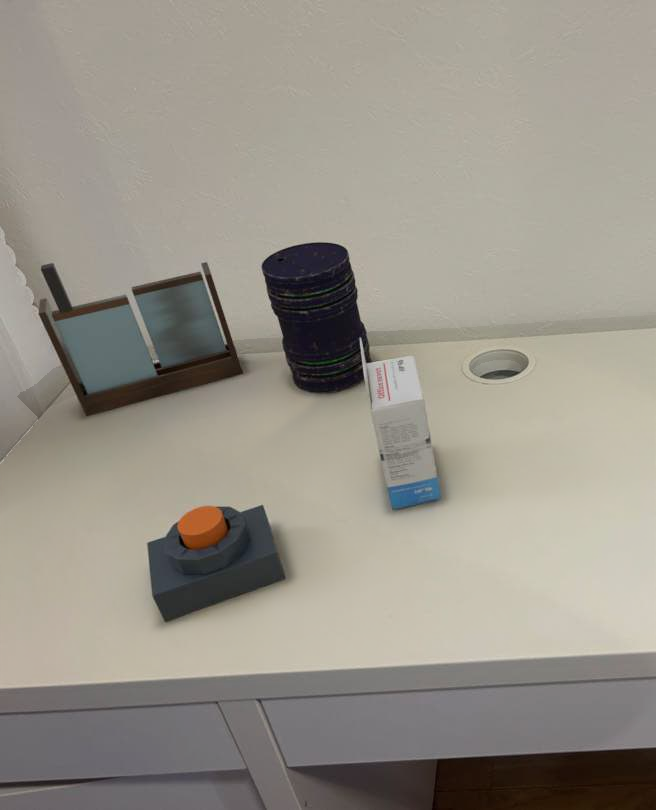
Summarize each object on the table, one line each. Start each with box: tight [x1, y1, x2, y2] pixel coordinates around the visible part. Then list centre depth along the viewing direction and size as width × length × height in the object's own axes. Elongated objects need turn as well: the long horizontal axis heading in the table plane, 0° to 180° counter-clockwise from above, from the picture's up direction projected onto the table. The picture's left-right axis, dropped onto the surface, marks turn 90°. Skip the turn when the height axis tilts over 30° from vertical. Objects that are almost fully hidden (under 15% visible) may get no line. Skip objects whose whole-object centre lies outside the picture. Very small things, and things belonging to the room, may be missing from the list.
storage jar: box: [260, 241, 373, 395], centre depth 94 cm, size 10×10×15 cm
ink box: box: [360, 337, 441, 510], centre depth 75 cm, size 8×5×15 cm, turn 14°
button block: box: [146, 504, 287, 623], centre depth 69 cm, size 10×7×5 cm
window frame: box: [37, 261, 244, 417], centre depth 94 cm, size 18×4×14 cm, turn 116°
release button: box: [177, 505, 228, 549], centre depth 67 cm, size 4×4×2 cm
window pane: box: [40, 262, 158, 394], centre depth 90 cm, size 8×1×16 cm, turn 116°
